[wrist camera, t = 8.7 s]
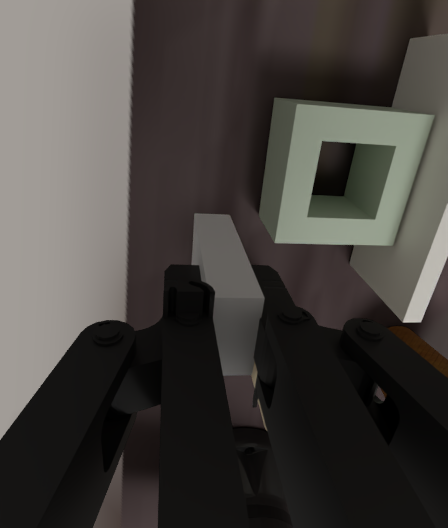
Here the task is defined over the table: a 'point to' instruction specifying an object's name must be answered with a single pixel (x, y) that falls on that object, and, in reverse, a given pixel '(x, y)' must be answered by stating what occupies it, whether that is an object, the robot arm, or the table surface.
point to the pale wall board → (417, 193)
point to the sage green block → (360, 176)
